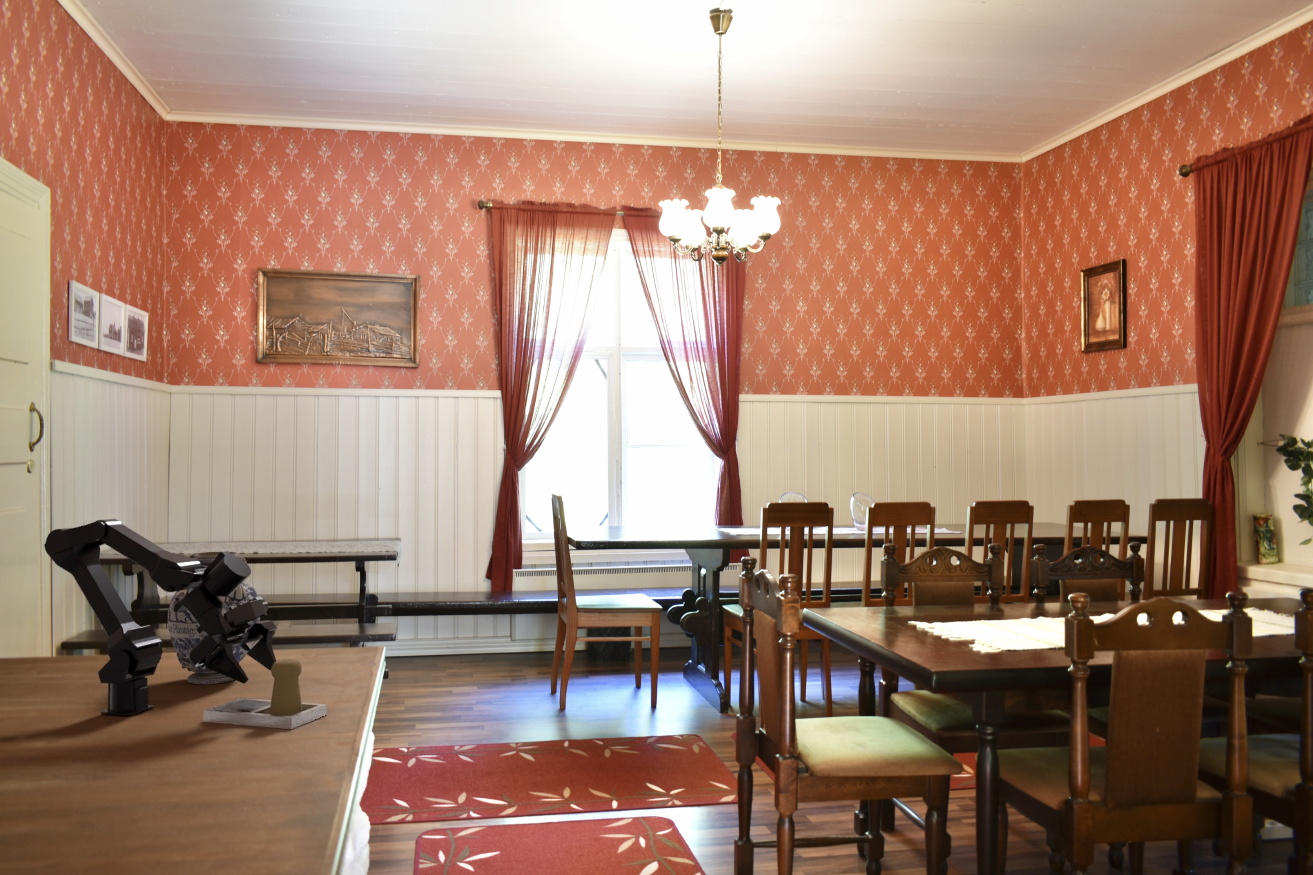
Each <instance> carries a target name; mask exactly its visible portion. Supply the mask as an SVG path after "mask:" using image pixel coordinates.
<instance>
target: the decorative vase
mask: <svg viewBox="0 0 1313 875" xmlns="http://www.w3.org/2000/svg"><path fill="white" fill-rule="evenodd" d="M220 552H221V551H207V552H206V551H205V552H204V551H203V552H198V553H192V554H190V555H188V557H190V558H193V559H195V560H197V561H199V562H200V563H201V564H202V566H207V567H208V566H209V565H210V564H211V563H212V562H213V561H214V560H215V558H216V557H217V555H218V554H219V553H220ZM229 552H230V554H231V555H234V556H236V557H238V558H240V559H241V560H243V561H245V562H246V563H247V560H246V558H245V557H243V556H242V555H238V554H237V552H235V551H229ZM247 564H248V563H247ZM188 590H189V589H188ZM188 590H182V591H176V592H174V594H173V596H172V597H171V600H170V603H169V606H168V610H167V627H168V628H167V629H168V635H169V638H170V641H171V643H172V646H173V649H174V650H175V653H176V657H177V659H178V662H179V664H180V665H181V668H182V669H186V670H187V671H188V672H193V673H191V674H190V675H188V676H187V679H186V682H187V683H188V684H189V683H190V684H193V685H217V684H224V683H228V682H230V683H231V682H233V681H235V680H234V679H232V678H229V677H227V676H225V675H222V674H220V673H217V672H215V671H212V670H209V669H206V668H204V669H203V668H202V667H201V666H202V665H201V666H197V667H195V666H194V665H193V664H192V663H191V661H190V660H189V652H190V651H191V650H192V649H193V648H194V647H195V646H196V645H197V644H198V643H199V641H200V640H201V639H202V638H203V637H204V636H206V635H207V634H206V633H201V634H199V633H198V631H197V630H196V629H197V628H198V627H199V624H198V623H197V622H196V621H195V619H194V618H193V617H192V616H191V614H190V613H189V612H188V610H184V611H179V612H174V611H173V608H174V605H175V598H176V597H181V596H184V595H185V594H186V592H187V591H188ZM255 597H259V594H258V592H257V590H256V589H255V588H254V587H253V586H252V585H251V584H249V583H246V582H245V581H244V582H243V583H242V584H241V585H240V586H239V587H238V588H237V589H236V590H235V591H234V592H233V593H232V594H231V595H230V596H227V597H225V596H220V598H221V599H222V600H223V601H224V603H225V604H226V605H227V606H236V607H238V606H240V605H242V604H244V603H247V602H249V600H251V599H254V598H255ZM260 620H261V617H259V618H257V619H255V620H252V621H250V622H251V625H250V626H249V628H246V629H245V631H246V632H247V631H248V630H249V629H250V628H251V627H252V626H253V625H254V624H255V623H258V622H261V621H260ZM246 632H245V633H246ZM248 652H249V651H246V650H244V649H243V648H242V647H241V646H240V645H238V646H234V647H233V655H234V657H235V658H236V660H237V661H238V663H239V664H240V662H241V661H243V660H244V659H245V657H247V656H248V655H247V653H248Z"/></svg>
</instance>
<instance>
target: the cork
mask: <svg viewBox="0 0 1313 875" xmlns="http://www.w3.org/2000/svg"><path fill="white" fill-rule="evenodd" d="M302 668H303V667H302V663H301V662H300V660H298V659H296V658H295V659H294V658H284V659H283V658H282V659H280V660H279V659H278V660H276V662H275V663H274V664H273V665H272V668H271V671H270V672H271V676H272V677H273V679H274V681H273V686H272V691H271V692H272V694H271V699H270V700H271V705H270V712H269V714H272V715H285V716H292V715H295V714H297V713H300V712H302V703H303V702H302V694H301V688H300V680H299V677H300V675H301V674H302ZM301 702H302V703H301Z"/></svg>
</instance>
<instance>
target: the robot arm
mask: <svg viewBox="0 0 1313 875" xmlns="http://www.w3.org/2000/svg"><path fill="white" fill-rule="evenodd" d="M104 545H105V546H108V547H110V548H111V549H113V550H114V551H115V552H117V553H119V554H121V555H122V556H124V557H125V558H127V559H129V560H131V561H132V562H134V563H135V564H137V565H138V566H140V567H142V568H143V569H145V570H146V571H147V572H148V574H149V577H150V579H151V581H152V582H154V583H155V584H156V585H157V586H158V587H159V588H160V589H161V590H162V591H163V592H167V593H176V592H177V591H182V590H188V589H189V590H188V591H187V592H186V594H185V595H184V596H181V597H176V598H175V605H174V608H173V611H174V612H179V611H184V610H188V612H189V613H190V614H191V616H192V617H193V618H194V619H195V621H196V622H197V623H198V624H199V627H198V628H197V629H196V630H197V631H198V633H199V634H201V633H206V634H207V635H206V636H204V637H203V638H202V639H201V640H200V641H199V643H198V644H197V645H196V646H195V647H194V648H193V649H192V650H191V651H190V652H189V660H190V661H191V663H192V664H193V665H194V666H195V667H197V666H201V665H202V666H201V667H202V668H203V669H204V668H206V669H209V670H212V671H215V672H217V673H220V674H222V675H225V676H227V677H229V678H232V679H234V681H237V682H239V683H241V684H244V685H245V684H246V683H247V682H248V681H249V678H248V676H247V674H246V672H245V670H244V669H243V668H242V666H241V664H240V662H239V663H238V661H237V660H236V658H235V657H234V655H233V647H234V646H238V645H240V646H241V647H242V648H243V649H244V650H246V651H249V652H248V653H247V655H246V656H248V657H250V658H252V659H253V660H254V661H256V662H257V663H258V664H260V665H261V666H263V667H264V668H265V669H267V670H268V671H270V672H271V668H272V665H273V664H274V663H275V662H276V661H277V659H276V655H275V653H274V649H273V645H272V642H273V638H274V636H275V635H276V631H277V630H278V627H277V625H276V624H275V623H274V622H273V621H272V620H262V621H260V622H258V623H255V624H254V625H253V626H252V627H251V628H250V629H249V630H248V631H247V632H246V631H245V629H246V628H249V626H250V625H251V622H250V621H252V620H255V619H257V618H259V617H260V618H261V617H262V618H263V617H266V616H267V615H268V613H267V611H268V610H269V606H270V605H269V603H268V602H267V601H265V600H266V599H264V598H263V597H262V596H259V595H258V596H259V597H255V598H254V599H251V600H249V602H247V603H244V604H242V605H240V606H238V607H236V606H227V605H226V604H225V603H224V601H223V600H222V599H221V598H220V596H225V597H227V596H230V595H231V594H232V593H233V592H234V591H235V590H236V589H237V588H238V587H239V586H240V585H241V584H242V583H243V582H244V583H245V581H246V580H247V579H248V578H249V577H250V575H251V574H252V569H251V567H250V565H249V564H248V563H246V562H247V561H246V562H245V561H243V560H241V559H240V558H238V557H236V556H234V555H231V554H230V552H231V551H229V550H224V551H219V552H220V553H219V554H218V555H217V557H216V558H215V560H214V561H213V562H212V563H211V564H210V565H209V566H208V567H207V566H202V564H201V563H200V562H199V561H197V560H195V559H193V558H190V557H189V556H187V555H184V554H181V553H175V552H171V551H169V550H165V549H164V548H162V547H161V546H158V544H156V543H154V542H152V541H151V540H149V539H147V537H146V538H145V537H144V536H142V535H140V534H139V533H137V532H136V531H135V530H133V529H131V528H129V527H128V526H127V525H125V524H124V522H122V521H121V520H119V519H115V518H108V519H98V520H95V521H92V522H89V523H88V524H83V525H80V526H76V527H70V528H69V527H67V528H55V529H53V530H51V531H50V532H49V533H48V535H47V537H46V539H45V542H44V544H43V546H44V550H45V552H46V554H47V555H48V556H49V557H50V559H51V560H52V561H53V562H54V564H55V565H56V566H58V567H59V568H61V569H62V570H64V571H65V572H67V573H69V574H70V575H72V577H73V578H74V580H75V582H76V583H77V585H78V587H79V588H80V590H81V592H82V594H83V595H84V597H85V599H86V601H87V602H88V604H89V606H90V608H91V609H92V610H93V613H94V614H95V616H96V617H97V619H98V621H99V623H100V625H101V627H102V628H103V630H104V632H105V633H106V634H107V646H106V647H107V650H106V651H107V654H108V657H109V660H108V661H107V662H106V663H105V664H104V665H103V666H102V667H101V669H99V671H98V673H97V674H98V678H99V682H100V683H101V684H107V709H104V710H100V714H101V715H109V716H121V717H129V716H132V715H136V714H138V713H142V712H146V711H148V710H153V709H154V708H155V707H154V705H152V704H151V705H150V704H149V692H150V690H149V685H148V676H153V675H155V674H156V671H157V667H158V664H159V663H160V662H161V659H162V655H163V652H164V651H163V648H162V645H161V643H163V641H162V640H161V639H160V638H159V637H158V636H157V634H156V631H155V629H154V627H153V625H151V624H149V625H148V624H147V625H144V626H141V625H139V624H137V623H136V621H135V620H134V618H133V617H132V615H131V613H130V612H129V610H128V609H127V607H126V605H125V603H124V602H123V600H122V599H121V597H120V595H119V594H118V592H117V589H116V588H115V587H114V584H113V583H112V581H111V580H110V578H109V577H108V575H107V573H106V571H105V569H104V568H103V566H102V564H101V563H100V559H101V547H102V546H104ZM245 632H246V633H245Z"/></svg>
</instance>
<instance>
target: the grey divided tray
mask: <svg viewBox="0 0 1313 875" xmlns="http://www.w3.org/2000/svg"><path fill="white" fill-rule="evenodd" d="M301 703H302V712H300V713H297V714H295V715H292V716H285V715H272V714H269V712H270V705H271V699H263V698H262V699H261V698H248V697H247V698H246V697H241V698H238V699H235V700H231V701H228V702H226V703H223V704H220V705H216V706H213V707H210V708H206V709H204V710H203V712H202V713H203V715H202V716H203V720H202V722H203V723H216V724H228V725H238V726H248V727H249V726H250V727H262V728H273V729H283V730H286V729H287V730H293V729H296V728H298V727H302V726H303V725H306V724H308V723H310V722H313V721H315V719H316V720H318V719H320V717H321V718H323V717H322V716H324V717H326V716H328V704H327V703H325V704H324V703H315V702H313V703H312V702H302V701H301ZM244 711H246V712H244ZM247 711H249V712H247ZM325 715H326V716H325Z"/></svg>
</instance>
